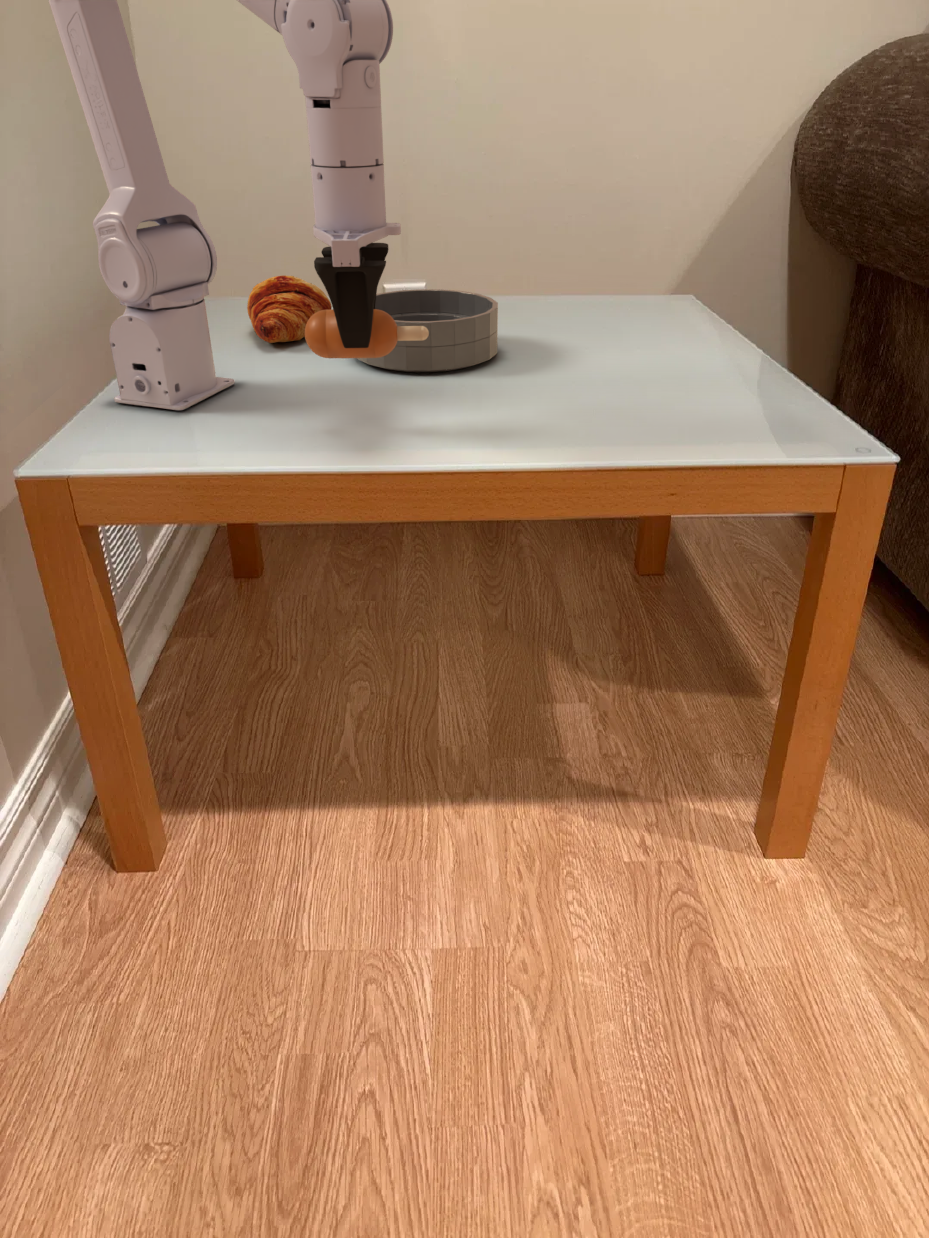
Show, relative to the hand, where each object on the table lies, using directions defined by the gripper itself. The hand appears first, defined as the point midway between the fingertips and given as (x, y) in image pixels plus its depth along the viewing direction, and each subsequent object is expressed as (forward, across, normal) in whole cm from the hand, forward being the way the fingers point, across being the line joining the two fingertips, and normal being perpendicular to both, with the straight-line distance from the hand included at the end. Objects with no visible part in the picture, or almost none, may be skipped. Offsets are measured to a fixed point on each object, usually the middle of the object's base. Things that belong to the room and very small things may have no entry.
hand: (358, 340), depth 79 cm
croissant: (+8, +37, +11) cm, 39 cm away
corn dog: (+2, 0, -1) cm, 2 cm away
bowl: (+8, +24, -6) cm, 26 cm away
